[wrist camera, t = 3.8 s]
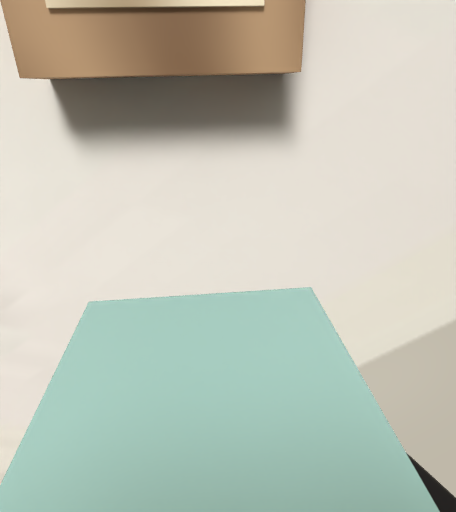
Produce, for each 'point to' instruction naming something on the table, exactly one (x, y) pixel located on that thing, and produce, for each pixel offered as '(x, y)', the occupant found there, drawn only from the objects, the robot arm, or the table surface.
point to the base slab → (154, 37)
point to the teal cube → (210, 415)
